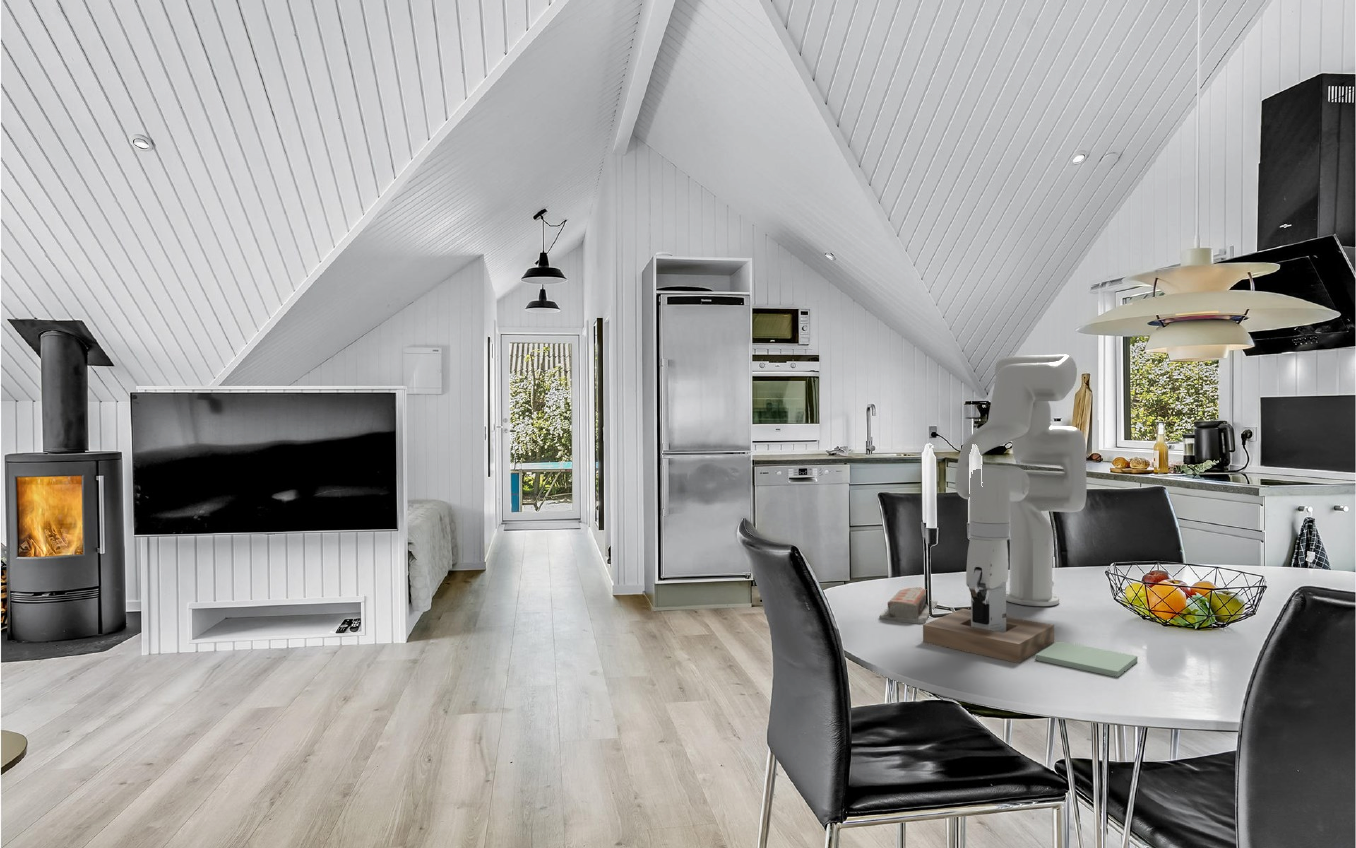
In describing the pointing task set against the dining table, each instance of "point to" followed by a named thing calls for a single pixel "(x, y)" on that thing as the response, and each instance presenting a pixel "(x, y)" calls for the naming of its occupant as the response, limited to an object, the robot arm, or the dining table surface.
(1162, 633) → the dining table surface
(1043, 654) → the mat
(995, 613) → the skincare box
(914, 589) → the pink and beige block
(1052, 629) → the pocket block
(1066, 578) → the dining table surface
